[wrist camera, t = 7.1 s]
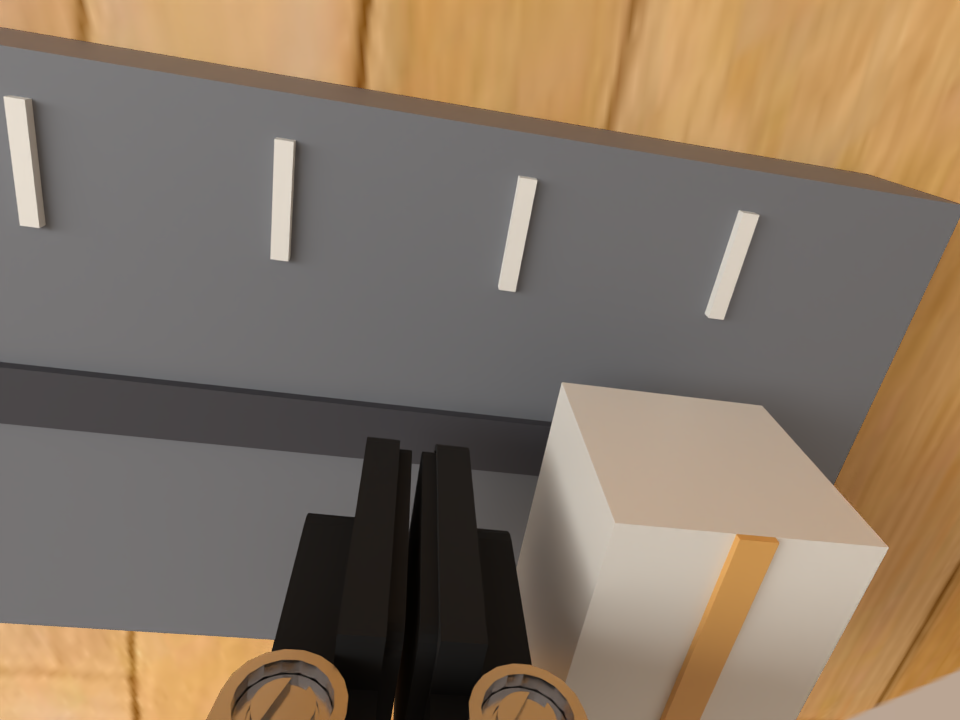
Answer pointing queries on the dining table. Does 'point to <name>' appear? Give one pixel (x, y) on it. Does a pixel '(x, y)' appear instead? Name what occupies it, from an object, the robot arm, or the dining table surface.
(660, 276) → the console
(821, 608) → the fader
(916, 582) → the dining table surface
